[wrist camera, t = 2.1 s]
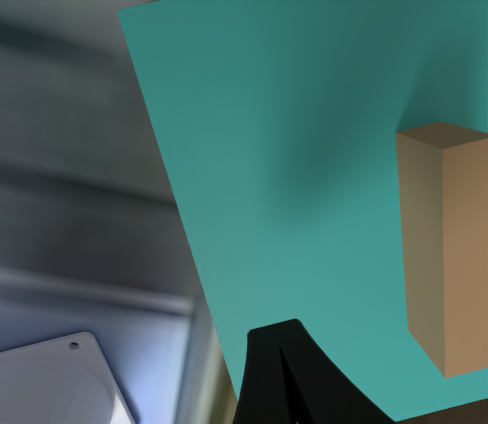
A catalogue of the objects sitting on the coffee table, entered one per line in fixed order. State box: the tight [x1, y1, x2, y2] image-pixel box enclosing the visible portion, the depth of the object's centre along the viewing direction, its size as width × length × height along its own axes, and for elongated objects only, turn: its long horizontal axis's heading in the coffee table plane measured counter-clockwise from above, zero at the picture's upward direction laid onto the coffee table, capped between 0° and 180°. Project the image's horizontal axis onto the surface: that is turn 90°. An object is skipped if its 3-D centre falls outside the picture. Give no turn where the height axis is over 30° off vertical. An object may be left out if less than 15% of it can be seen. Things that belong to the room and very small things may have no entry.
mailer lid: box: [116, 0, 488, 424], centre depth 13 cm, size 14×18×3 cm
